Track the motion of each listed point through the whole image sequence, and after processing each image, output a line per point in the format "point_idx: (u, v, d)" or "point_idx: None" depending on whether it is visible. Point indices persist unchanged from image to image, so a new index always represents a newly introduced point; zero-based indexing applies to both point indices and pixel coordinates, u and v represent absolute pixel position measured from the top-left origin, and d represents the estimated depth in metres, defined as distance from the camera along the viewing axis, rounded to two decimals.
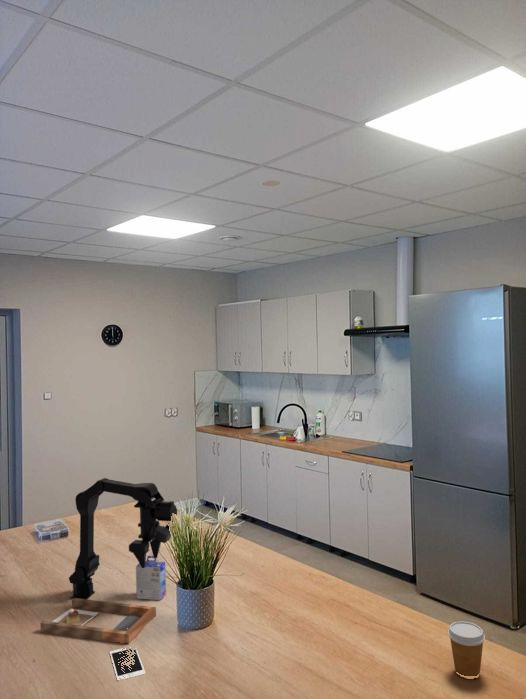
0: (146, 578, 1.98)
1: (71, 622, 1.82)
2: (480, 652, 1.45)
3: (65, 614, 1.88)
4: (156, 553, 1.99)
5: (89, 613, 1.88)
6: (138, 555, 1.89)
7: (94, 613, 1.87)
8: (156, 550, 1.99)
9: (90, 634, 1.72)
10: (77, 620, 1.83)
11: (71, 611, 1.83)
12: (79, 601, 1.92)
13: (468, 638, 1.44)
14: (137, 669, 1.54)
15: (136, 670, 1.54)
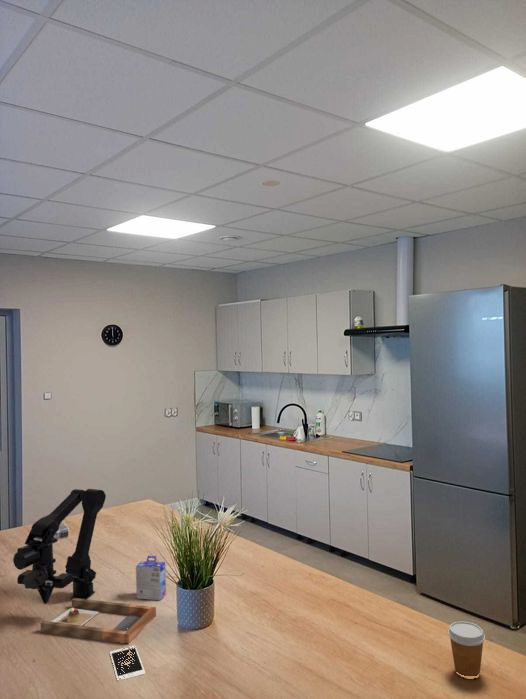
0: (146, 578, 1.98)
1: (71, 621, 1.82)
2: (480, 652, 1.45)
3: (65, 613, 1.88)
4: None
5: (89, 612, 1.89)
6: None
7: (95, 613, 1.88)
8: None
9: (90, 634, 1.72)
10: (77, 619, 1.84)
11: (71, 610, 1.84)
12: (79, 601, 1.92)
13: (468, 638, 1.44)
14: (137, 669, 1.54)
15: (136, 670, 1.54)
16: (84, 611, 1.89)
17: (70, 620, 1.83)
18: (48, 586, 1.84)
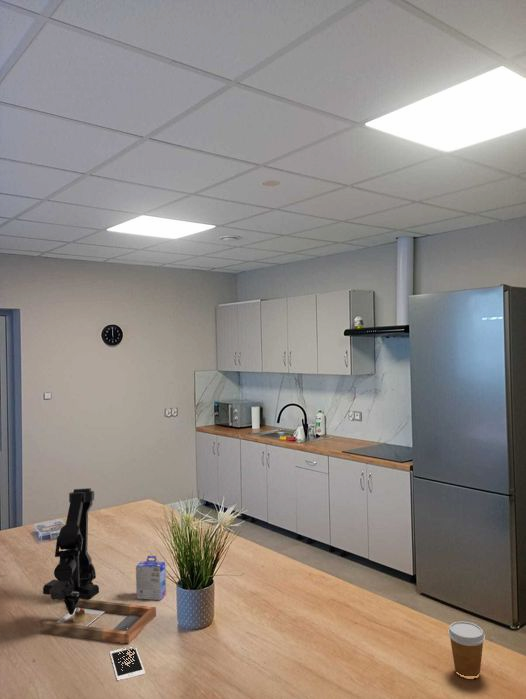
0: (146, 578, 1.98)
1: (78, 621, 1.82)
2: (480, 652, 1.45)
3: None
4: None
5: (95, 612, 1.89)
6: None
7: (100, 612, 1.88)
8: None
9: (90, 634, 1.72)
10: (84, 619, 1.83)
11: (77, 610, 1.84)
12: (79, 601, 1.92)
13: (468, 638, 1.44)
14: (137, 669, 1.54)
15: (136, 670, 1.54)
16: (90, 611, 1.89)
17: (76, 620, 1.83)
18: (74, 597, 1.81)
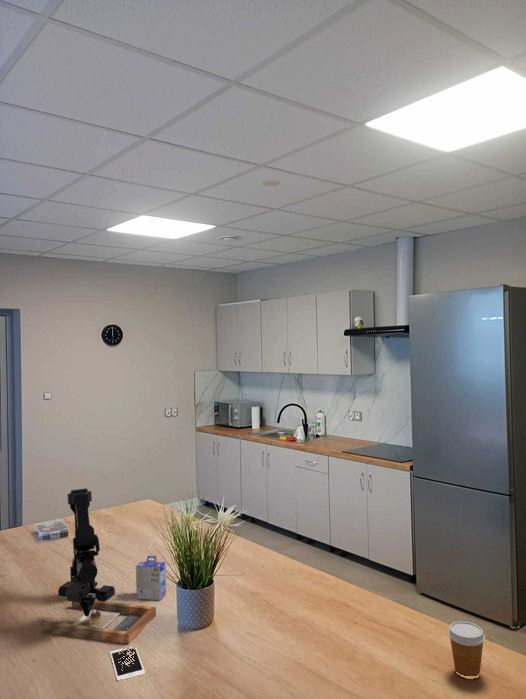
0: (146, 578, 1.98)
1: (94, 623, 1.81)
2: (480, 652, 1.45)
3: None
4: None
5: (110, 613, 1.87)
6: None
7: (116, 614, 1.87)
8: None
9: (90, 634, 1.72)
10: (100, 621, 1.82)
11: (93, 612, 1.82)
12: None
13: (468, 638, 1.44)
14: (137, 669, 1.54)
15: (136, 670, 1.54)
16: (105, 612, 1.88)
17: (92, 622, 1.81)
18: (90, 599, 1.80)
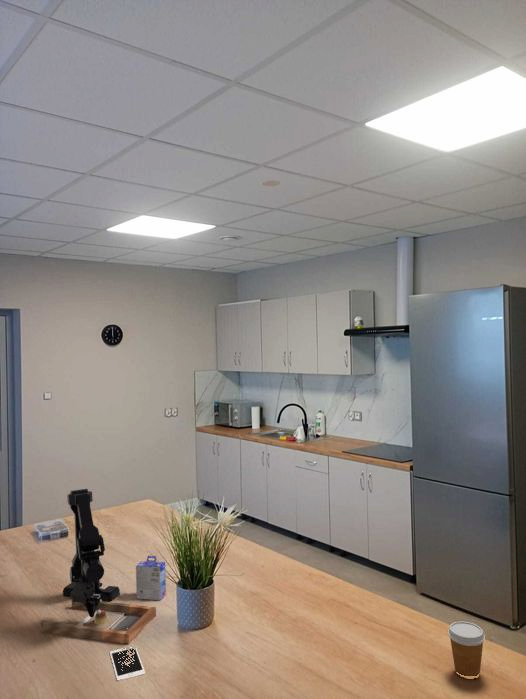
0: (146, 578, 1.98)
1: (99, 623, 1.81)
2: (480, 652, 1.45)
3: None
4: None
5: (115, 614, 1.87)
6: None
7: (121, 614, 1.87)
8: None
9: (90, 634, 1.72)
10: (105, 621, 1.82)
11: (99, 612, 1.82)
12: None
13: (468, 638, 1.44)
14: (137, 669, 1.54)
15: (136, 670, 1.54)
16: (109, 613, 1.88)
17: (98, 622, 1.81)
18: (95, 599, 1.79)
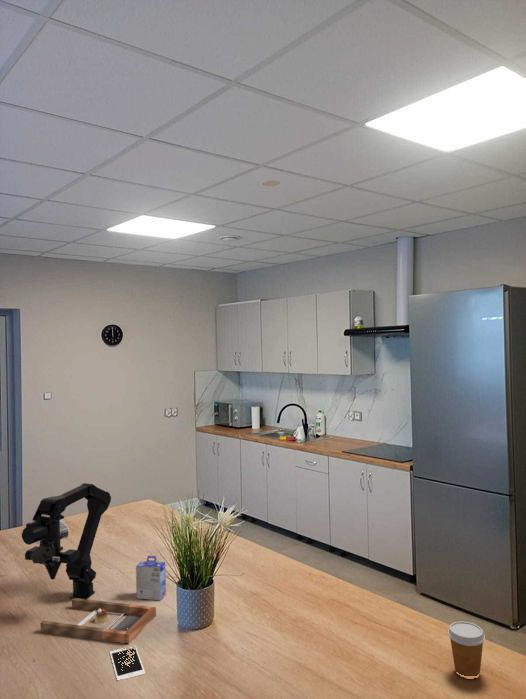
0: (146, 578, 1.98)
1: (100, 622, 1.81)
2: (480, 652, 1.45)
3: (92, 614, 1.87)
4: None
5: (116, 613, 1.88)
6: None
7: (121, 613, 1.87)
8: None
9: (90, 634, 1.72)
10: (106, 620, 1.82)
11: (99, 611, 1.83)
12: (79, 601, 1.92)
13: (468, 638, 1.44)
14: (137, 669, 1.54)
15: (136, 670, 1.54)
16: (110, 612, 1.88)
17: (98, 621, 1.81)
18: (55, 562, 1.87)
